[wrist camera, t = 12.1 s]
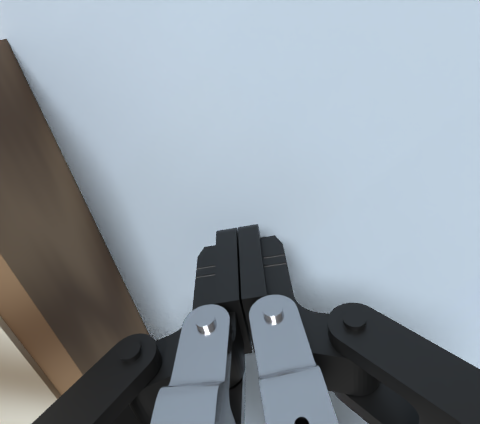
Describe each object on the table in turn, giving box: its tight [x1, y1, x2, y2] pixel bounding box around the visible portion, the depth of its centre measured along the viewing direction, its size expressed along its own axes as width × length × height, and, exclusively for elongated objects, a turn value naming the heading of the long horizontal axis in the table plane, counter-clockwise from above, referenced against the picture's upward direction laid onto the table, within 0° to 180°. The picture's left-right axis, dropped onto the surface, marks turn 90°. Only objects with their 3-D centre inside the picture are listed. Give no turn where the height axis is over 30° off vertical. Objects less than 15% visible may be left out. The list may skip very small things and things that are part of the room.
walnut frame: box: [0, 39, 149, 424], centre depth 13 cm, size 16×6×5 cm, turn 11°
